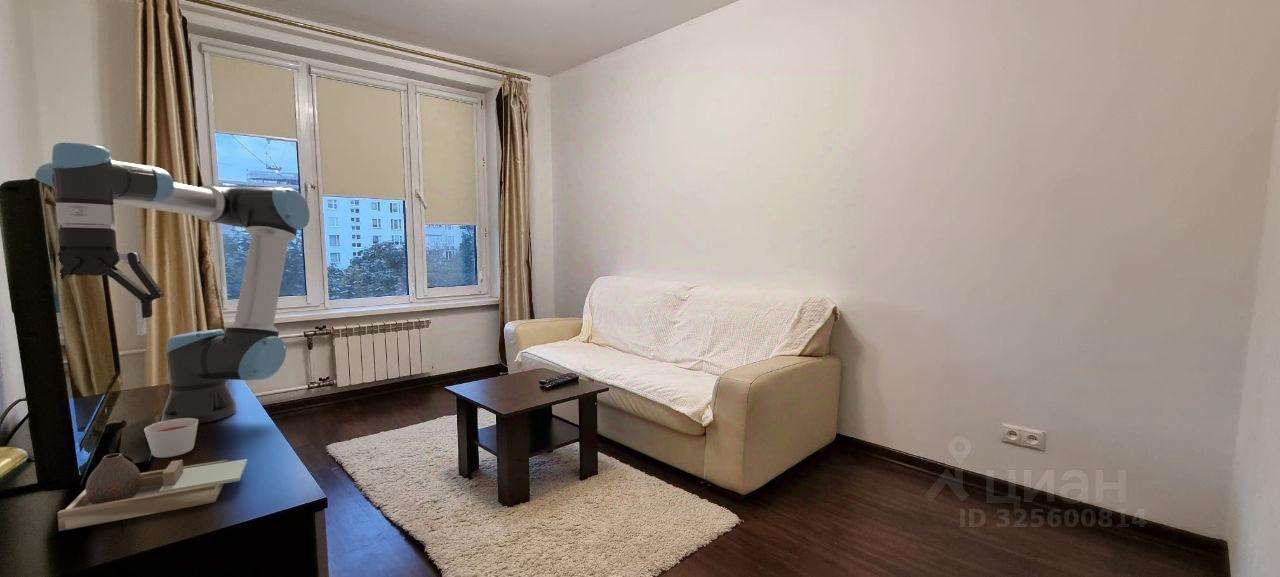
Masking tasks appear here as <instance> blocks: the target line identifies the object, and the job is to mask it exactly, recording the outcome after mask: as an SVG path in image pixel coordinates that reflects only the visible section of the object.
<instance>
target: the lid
mask: <svg viewBox="0 0 1280 577" xmlns="http://www.w3.org/2000/svg"><path fill="white" fill-rule="evenodd" d="M247 463H248V458H245V459H237V460H231V461H227V462H224V463H218V464H211V465H205V466H199V467H192V468H186V469H183V466H184V460H183V459H178V460H172V461H170V463H169V464H168V466H167V467H166V468H165V469H166V470H165V471H164V472H163V486H162V488H161V489H160V490H159V493H164V492H169V491H175V490H181V489H187V488H193V487H199V486H204V485H210V484H216V485H217V484H223V483H224V484H227V483H235V482H238V481H239V482H240V480H241V477H242V476H243V473H244V470H245V468H246V465H247ZM224 484H223V485H224Z"/></svg>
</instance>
